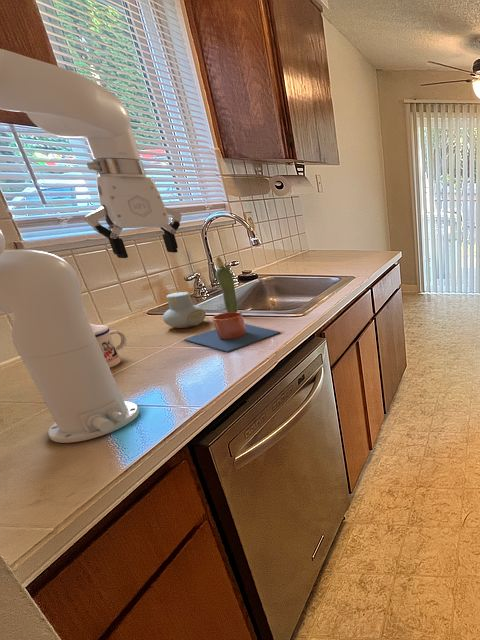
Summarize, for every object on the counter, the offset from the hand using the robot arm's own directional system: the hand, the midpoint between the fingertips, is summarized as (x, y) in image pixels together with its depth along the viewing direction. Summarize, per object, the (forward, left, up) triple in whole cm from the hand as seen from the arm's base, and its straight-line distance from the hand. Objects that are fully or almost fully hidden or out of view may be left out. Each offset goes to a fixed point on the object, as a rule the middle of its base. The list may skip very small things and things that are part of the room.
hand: (148, 254), depth 89 cm
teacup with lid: (+18, +10, -27) cm, 33 cm away
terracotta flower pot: (+7, -16, -26) cm, 31 cm away
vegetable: (+26, -29, -27) cm, 47 cm away
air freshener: (+30, -16, -27) cm, 43 cm away
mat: (+7, -16, -26) cm, 32 cm away
